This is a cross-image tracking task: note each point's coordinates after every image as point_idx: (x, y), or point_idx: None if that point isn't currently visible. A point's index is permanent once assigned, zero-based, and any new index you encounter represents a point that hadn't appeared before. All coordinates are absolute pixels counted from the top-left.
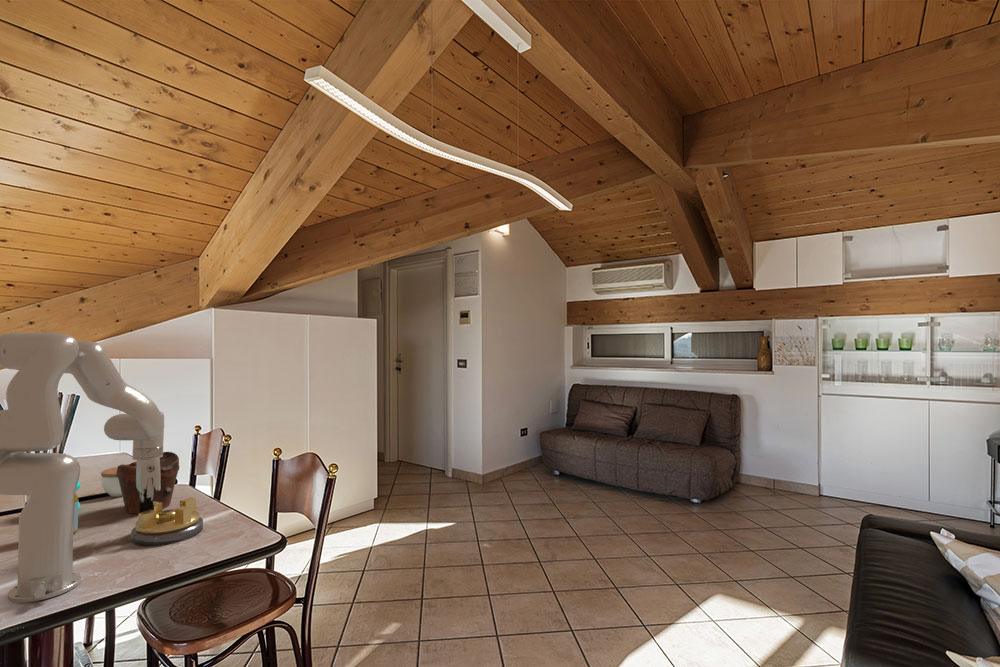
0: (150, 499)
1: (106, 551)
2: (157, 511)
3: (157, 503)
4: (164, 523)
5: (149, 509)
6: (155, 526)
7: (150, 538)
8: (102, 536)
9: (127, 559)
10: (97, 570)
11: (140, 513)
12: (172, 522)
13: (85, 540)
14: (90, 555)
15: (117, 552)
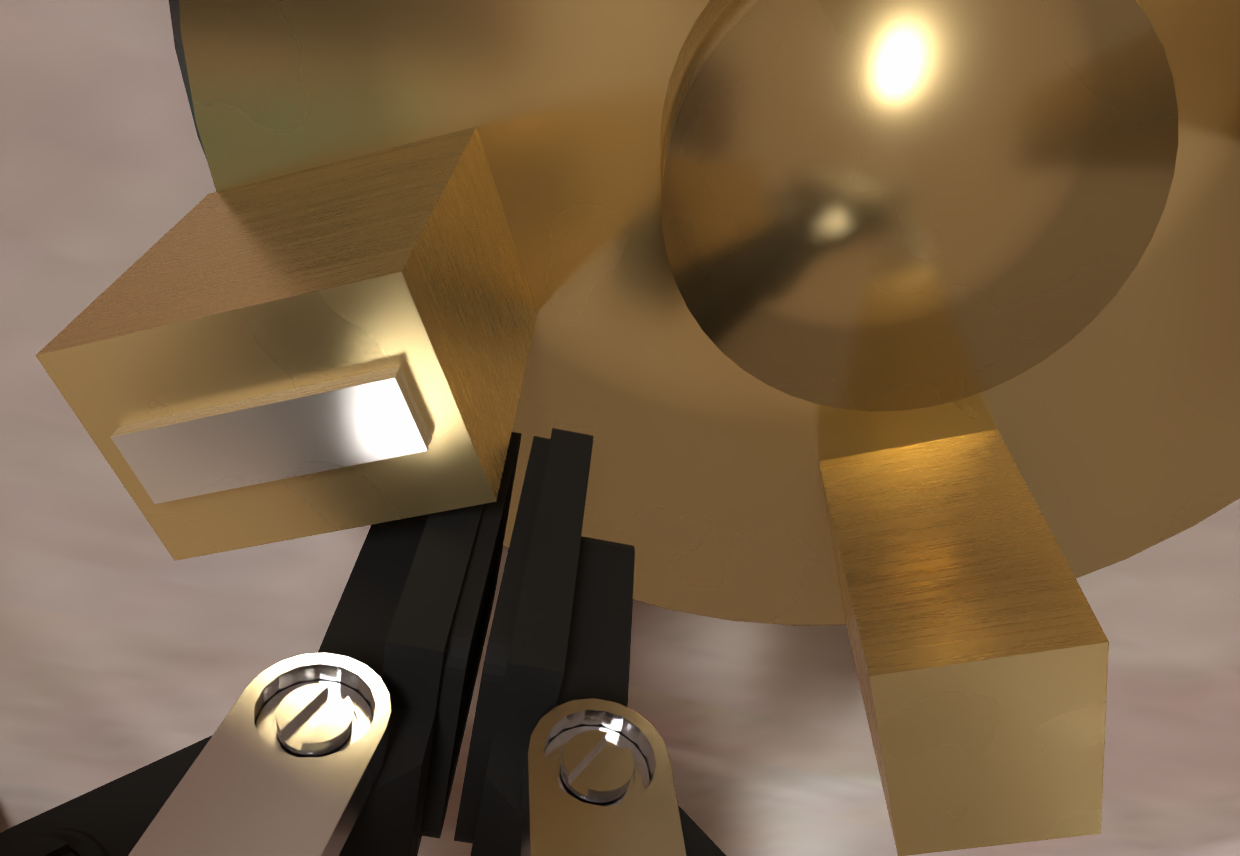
0: (709, 848)
1: (754, 701)
2: (495, 300)
3: (410, 402)
4: (1103, 318)
5: (632, 587)
6: (1093, 475)
7: None
8: (170, 595)
9: (1211, 672)
10: (1175, 844)
11: (941, 842)
12: (1232, 193)
13: (197, 708)
14: (730, 786)
15: None
